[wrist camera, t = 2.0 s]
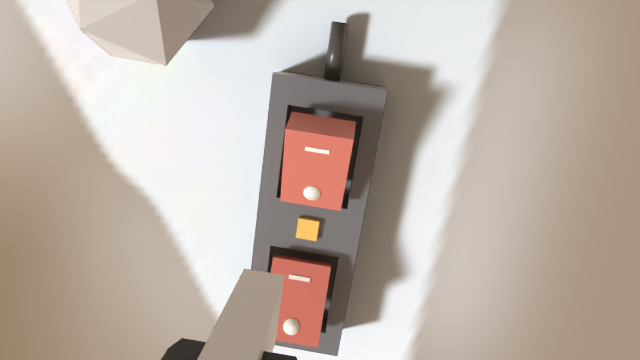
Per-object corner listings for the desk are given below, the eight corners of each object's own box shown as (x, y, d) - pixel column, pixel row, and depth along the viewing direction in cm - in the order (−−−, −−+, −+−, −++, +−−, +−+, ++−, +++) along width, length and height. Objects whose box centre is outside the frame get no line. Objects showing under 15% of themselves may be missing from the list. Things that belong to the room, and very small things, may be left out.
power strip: (287, 16, 31) (278, 10, 28) (394, 32, 31) (399, 29, 27) (252, 315, 39) (242, 342, 35) (338, 330, 39) (337, 359, 35)
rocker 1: (291, 111, 29) (285, 129, 27) (355, 121, 29) (353, 140, 27) (286, 181, 32) (280, 201, 30) (343, 190, 32) (340, 211, 30)
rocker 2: (277, 253, 34) (273, 257, 32) (330, 262, 34) (330, 267, 32) (264, 328, 34) (259, 337, 31) (318, 337, 34) (317, 348, 31)
